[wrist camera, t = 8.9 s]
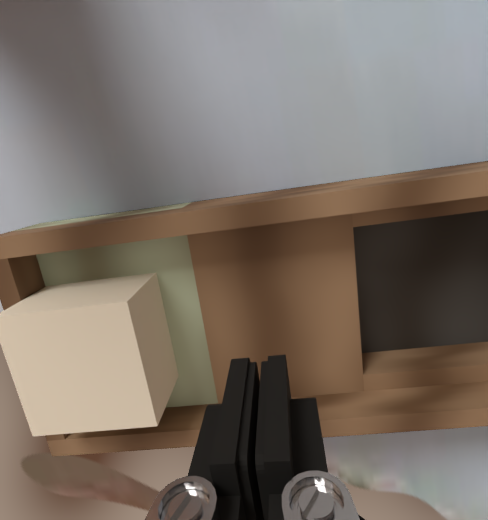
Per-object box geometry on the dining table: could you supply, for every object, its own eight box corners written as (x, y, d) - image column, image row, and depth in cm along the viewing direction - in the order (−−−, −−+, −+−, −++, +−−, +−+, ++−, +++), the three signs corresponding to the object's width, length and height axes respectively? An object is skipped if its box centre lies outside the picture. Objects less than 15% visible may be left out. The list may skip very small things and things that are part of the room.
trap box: (522, 156, 18) (598, 155, 14) (511, 367, 22) (572, 419, 17) (39, 223, 21) (-20, 240, 17) (91, 403, 24) (52, 456, 20)
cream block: (156, 272, 19) (127, 301, 15) (178, 375, 20) (157, 426, 16) (46, 286, 19) (-9, 317, 16) (76, 385, 21) (32, 436, 17)
